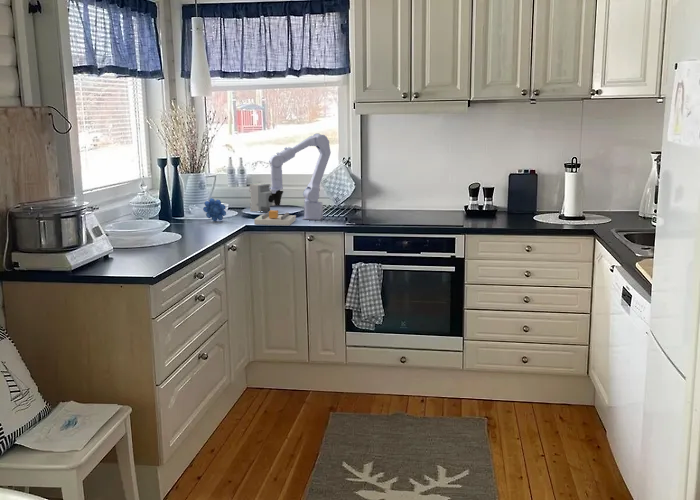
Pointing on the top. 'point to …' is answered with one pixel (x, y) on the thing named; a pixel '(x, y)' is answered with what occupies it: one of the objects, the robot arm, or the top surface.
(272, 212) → the lever
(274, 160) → the robot arm
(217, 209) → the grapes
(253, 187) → the circuit breaker
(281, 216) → the panel
